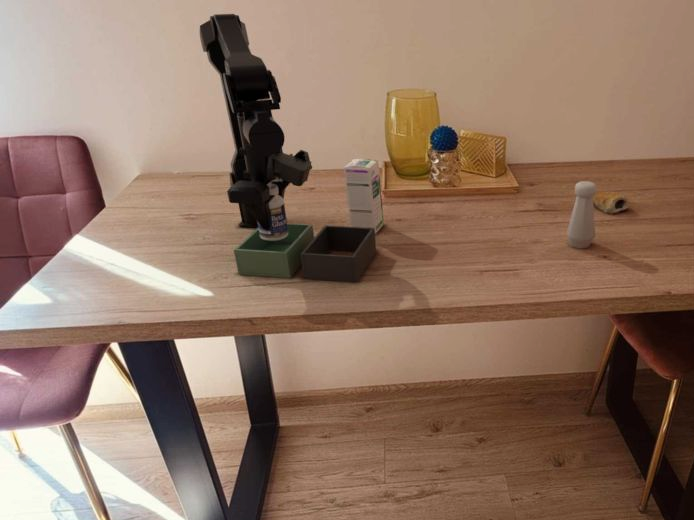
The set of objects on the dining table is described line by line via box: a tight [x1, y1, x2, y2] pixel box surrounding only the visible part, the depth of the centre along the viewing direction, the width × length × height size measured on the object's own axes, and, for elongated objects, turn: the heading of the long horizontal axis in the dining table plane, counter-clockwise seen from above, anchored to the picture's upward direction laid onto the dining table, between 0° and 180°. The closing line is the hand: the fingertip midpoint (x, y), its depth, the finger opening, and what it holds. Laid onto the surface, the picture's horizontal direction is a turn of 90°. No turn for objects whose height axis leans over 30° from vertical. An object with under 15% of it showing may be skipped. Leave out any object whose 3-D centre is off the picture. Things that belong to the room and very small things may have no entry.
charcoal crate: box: [300, 224, 377, 283], centre depth 123 cm, size 10×14×5 cm
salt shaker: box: [566, 180, 598, 249], centre depth 129 cm, size 6×6×13 cm
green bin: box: [233, 222, 315, 279], centre depth 125 cm, size 10×14×5 cm
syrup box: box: [343, 158, 385, 235], centre depth 136 cm, size 6×6×14 cm
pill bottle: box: [257, 184, 288, 241], centre depth 121 cm, size 5×5×10 cm
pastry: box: [593, 191, 630, 215], centre depth 151 cm, size 9×7×4 cm
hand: (272, 223), depth 122 cm, fingers closed on pill bottle, 5 cm apart
